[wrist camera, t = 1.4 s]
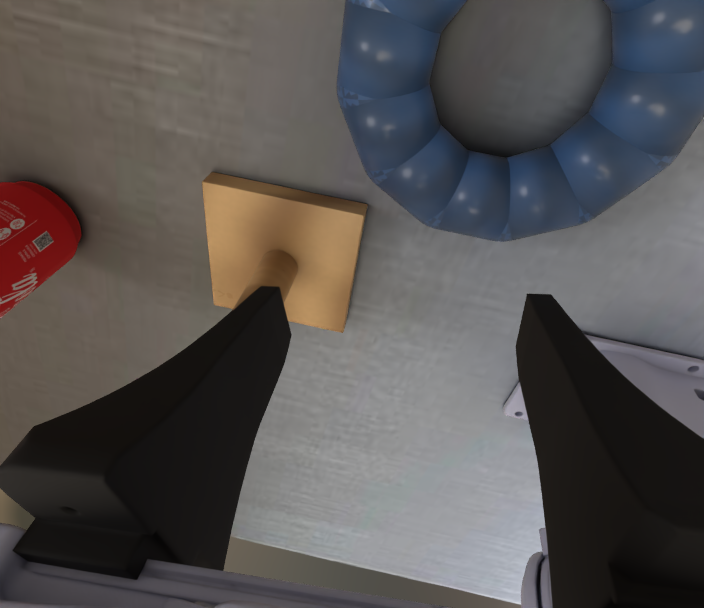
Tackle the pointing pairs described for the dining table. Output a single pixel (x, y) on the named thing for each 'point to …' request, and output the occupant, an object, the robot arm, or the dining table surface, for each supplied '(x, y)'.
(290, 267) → the stand
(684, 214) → the dining table surface
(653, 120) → the ring
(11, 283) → the beverage can
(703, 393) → the robot arm
